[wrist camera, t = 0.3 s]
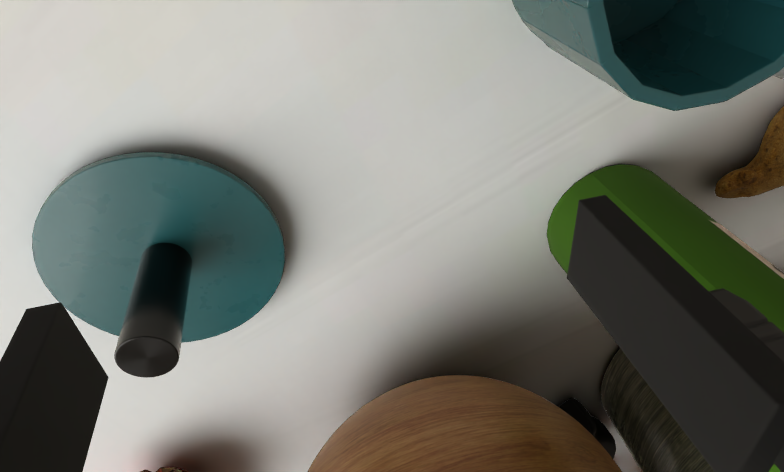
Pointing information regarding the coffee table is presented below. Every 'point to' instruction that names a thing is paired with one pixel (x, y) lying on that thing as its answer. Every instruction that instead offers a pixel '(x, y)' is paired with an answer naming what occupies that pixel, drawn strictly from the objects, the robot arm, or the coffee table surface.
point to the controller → (590, 424)
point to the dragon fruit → (167, 470)
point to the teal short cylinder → (665, 44)
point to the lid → (158, 253)
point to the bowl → (462, 432)
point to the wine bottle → (675, 236)
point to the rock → (758, 166)
